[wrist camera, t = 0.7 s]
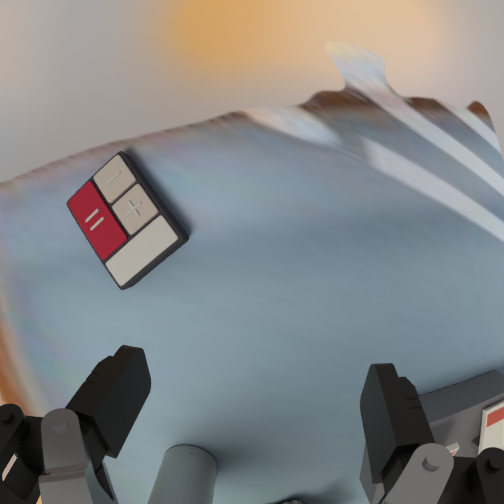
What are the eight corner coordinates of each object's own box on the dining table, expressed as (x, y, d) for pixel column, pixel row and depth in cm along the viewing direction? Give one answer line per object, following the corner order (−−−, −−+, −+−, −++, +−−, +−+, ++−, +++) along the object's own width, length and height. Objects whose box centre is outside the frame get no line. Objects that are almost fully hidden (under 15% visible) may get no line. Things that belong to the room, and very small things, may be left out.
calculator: (118, 147, 36) (183, 238, 37) (130, 155, 41) (190, 239, 41) (62, 202, 37) (118, 292, 37) (77, 205, 41) (131, 287, 41)
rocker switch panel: (359, 479, 44) (374, 514, 34) (370, 408, 43) (393, 444, 33) (474, 439, 45) (497, 463, 34) (493, 369, 43) (525, 389, 33)
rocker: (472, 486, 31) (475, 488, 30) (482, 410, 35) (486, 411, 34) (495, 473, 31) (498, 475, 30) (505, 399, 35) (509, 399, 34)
